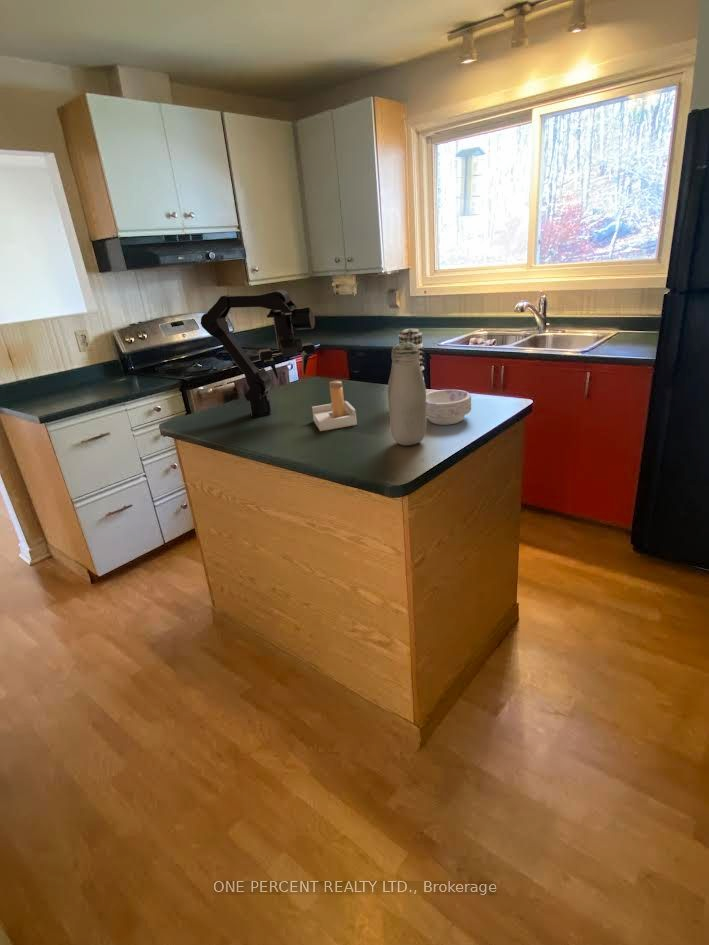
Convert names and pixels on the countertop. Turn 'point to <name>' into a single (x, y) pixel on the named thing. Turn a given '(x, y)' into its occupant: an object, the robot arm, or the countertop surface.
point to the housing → (326, 420)
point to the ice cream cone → (337, 399)
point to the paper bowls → (447, 406)
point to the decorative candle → (416, 338)
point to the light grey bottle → (406, 395)
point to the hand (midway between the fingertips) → (290, 376)
